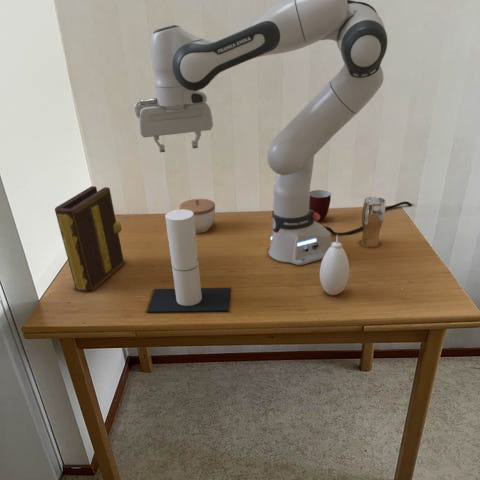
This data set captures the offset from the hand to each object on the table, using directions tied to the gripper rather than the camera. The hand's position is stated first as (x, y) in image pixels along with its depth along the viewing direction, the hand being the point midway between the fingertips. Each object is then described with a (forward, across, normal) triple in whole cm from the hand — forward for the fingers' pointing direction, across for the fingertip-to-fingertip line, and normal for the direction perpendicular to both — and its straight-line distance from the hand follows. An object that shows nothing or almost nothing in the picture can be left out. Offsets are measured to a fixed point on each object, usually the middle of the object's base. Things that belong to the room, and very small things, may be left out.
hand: (178, 149), depth 138 cm
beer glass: (+35, +59, -9) cm, 69 cm away
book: (+35, -28, +1) cm, 45 cm away
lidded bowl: (+35, +8, +24) cm, 43 cm away
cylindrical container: (+35, -5, -24) cm, 42 cm away
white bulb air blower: (+35, +34, -34) cm, 60 cm away
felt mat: (+35, -5, -24) cm, 43 cm away
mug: (+35, +50, +16) cm, 63 cm away
